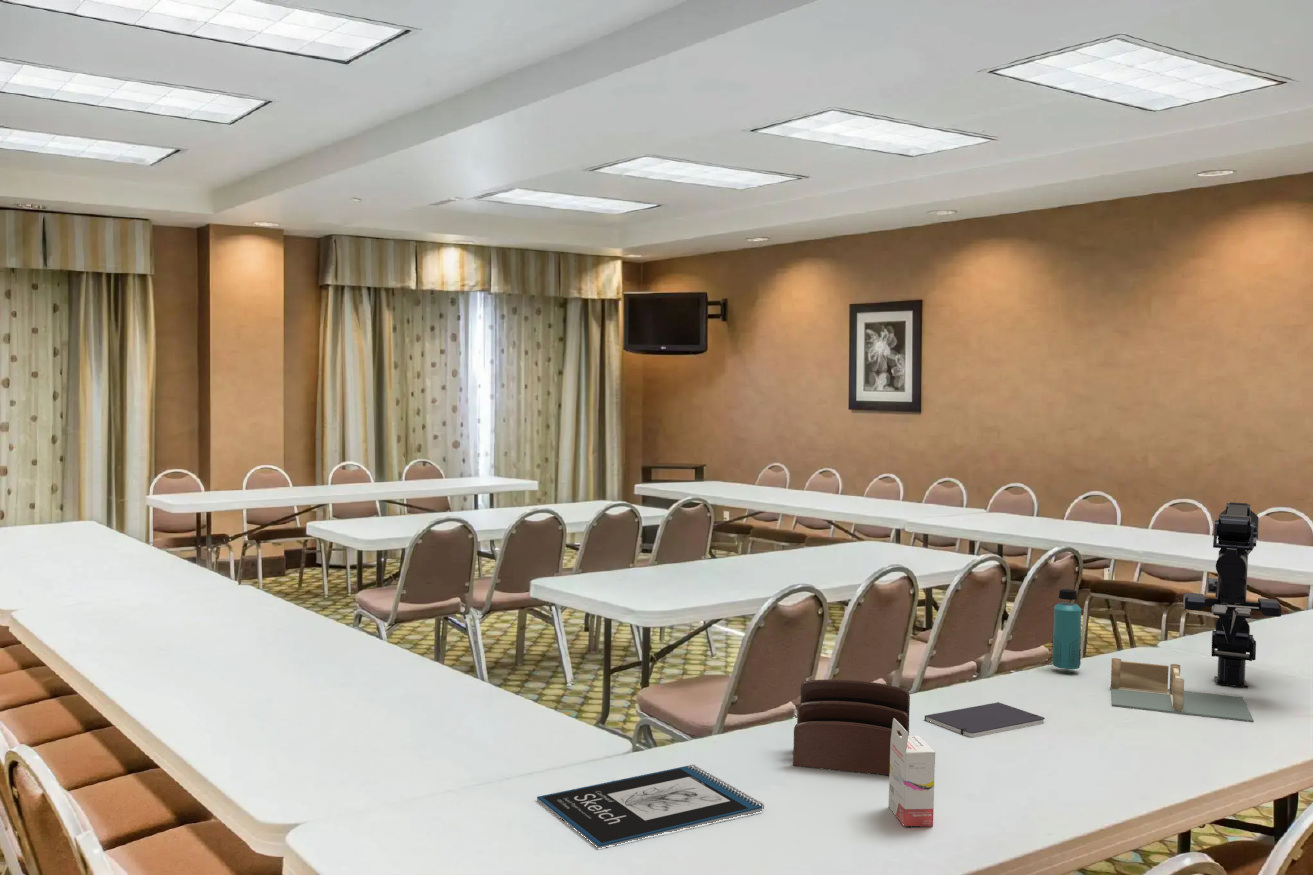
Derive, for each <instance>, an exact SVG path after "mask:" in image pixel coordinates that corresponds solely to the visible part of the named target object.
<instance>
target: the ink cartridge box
mask: <svg viewBox="0 0 1313 875" xmlns="http://www.w3.org/2000/svg"><path fill="white" fill-rule="evenodd" d="M897 731H900V733H901V734H902V736H899V735H898V734H897ZM935 768H936V751H935V750H934V749H933V748H932V747H931V746H930V745H929V744H928V743H927V742H926V741H925V740H923V738H922V737H921V736H920V735H909V736H908V732H907V731H906V730H905V729H904V727H903V726H902V725H901V724H900V723H899V722H898V721H897V720H896V719H895V718H894V719H893V724H892V733H891V743H890V776H888V777H889V778H888V779H889V781H888V808H889V807H890V808H889V810H890V811H891V810H892V811H893V812H892V811H891V812H892V813H893V814H894V816H895V815H896V816H897V817H896V816H895V817H896V818H897V819H898V820H900V821H901V822H900V821H899V822H900V824H902V823H903V824H904V826H905V827H906V826H911V827H912V826H920V827H933V826H934V811H935V810H934V809H935V808H934V806H935V771H936V770H935ZM903 824H902V825H903ZM904 826H903V827H904ZM905 827H904V828H905Z"/></svg>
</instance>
